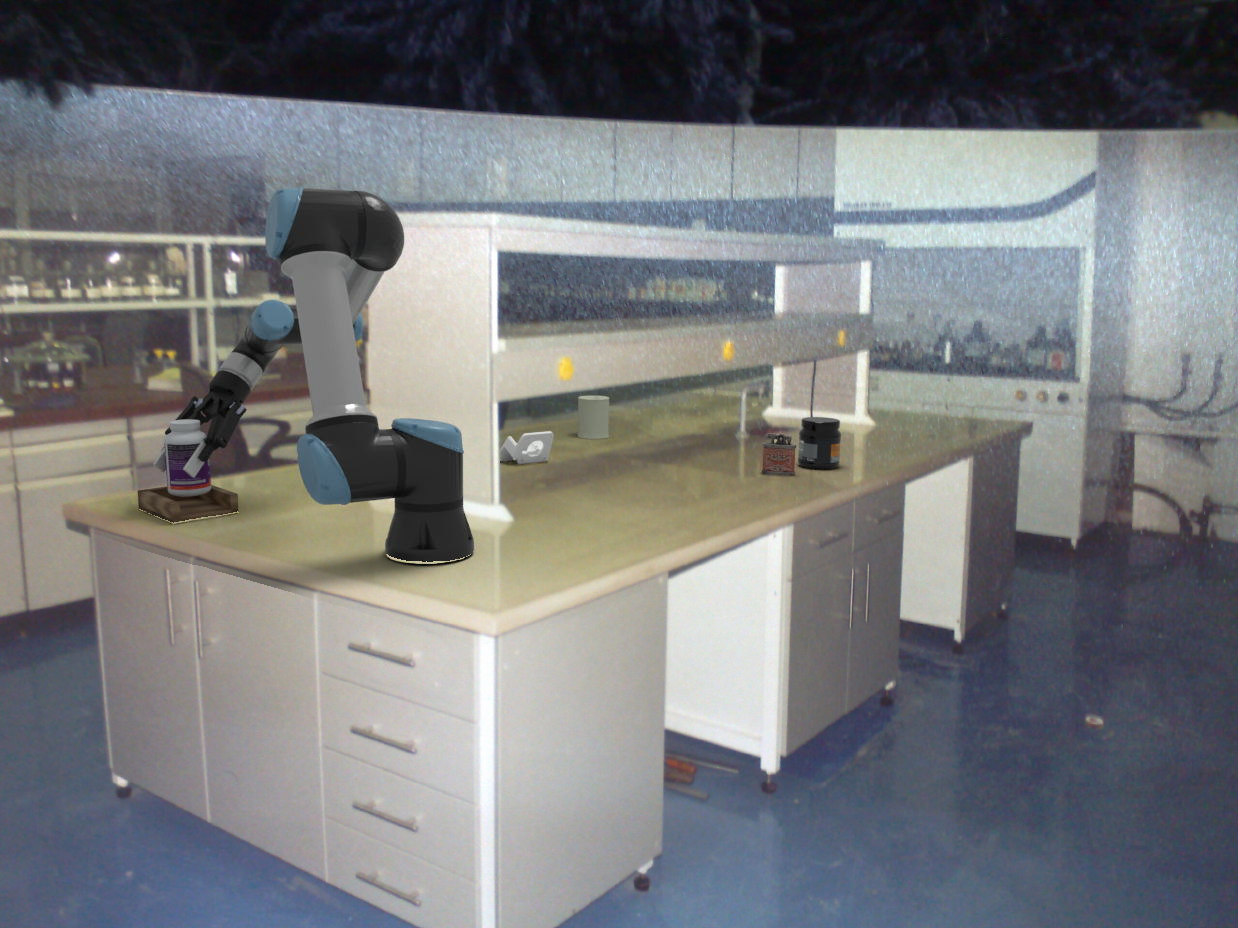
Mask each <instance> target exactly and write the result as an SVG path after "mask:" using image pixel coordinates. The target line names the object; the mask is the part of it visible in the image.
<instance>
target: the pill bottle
mask: <svg viewBox="0 0 1238 928" xmlns="http://www.w3.org/2000/svg"><path fill="white" fill-rule="evenodd" d="M169 426H170V430H172V431H171V433H169V434H167V435H166V434H165V436H164V438H163V445H164V446H163V448H164V449H165V461H166V471H165V473H166V475H165V476H166V486H167V489H168V492H169V493H170V494H171V495H174V496H182V497H189V496H197V495H202V494H205V493H208V492H209V491H210V490H211V485H212V476H211V463H210V462H211V461H210V458H209V459H208V460H207V461H206V462H205V463H204V464H203V466H202V467H201V469H200V470H199V472H198V473H197V475H196V476H195V478H193V477H191V476H190V475H189V474H188V473H186V472H185V471H184V470H183V468H184V467H185V465H186V464H187V462H188V461H189V459H190V458H191V456H192V455H193V453H194V452H195V450H196V449H197V448H198V446H199V445H200V443H201V442H204V443H205V444H207V443H206V442H205V441H204V440H203V439H204V438H207V435H208V434H206V433H205V432H203V431H201V430H200V429H201V426H200V421H199V420H192V419H186V420H176V419H174V420H171V421H169Z"/></svg>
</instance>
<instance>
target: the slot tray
mask: <svg viewBox="0 0 1238 928" xmlns="http://www.w3.org/2000/svg"><path fill="white" fill-rule="evenodd" d="M137 502H138V510H139V509H141V510H143V511H146V512H147V513H150V514H152V515H155V516H158V517H160V518H162V519H165V520H168V521H170V522H173V523H174V522H179V521H185V520H189V519H196V518H201V517H208V516H216V515H223V514H228V513H233V512H237V511H238V512H239V513H240V510H239V495H238V493H236V492H234V491H231V490H227V489H224V488H221V487H219V486H216V485H213V484H211V490H210V491H209V492H208V493H205V494H202V495H197V496H189V497H182V496H174V495H171V494H170V493H169V492H168V489H167V485H166V486H161V487H158V486H157V487H153V488H146V489H137ZM147 513H146V514H147ZM152 515H151V516H152Z"/></svg>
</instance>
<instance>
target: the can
mask: <svg viewBox="0 0 1238 928" xmlns="http://www.w3.org/2000/svg"><path fill="white" fill-rule="evenodd" d="M577 403H578V404H577V405H578V407H577V409H578V413H577V414H578V415H577V417H578V418H577V423H578V424H577V425H578V426H577V430H578V431H577V438H580V439H583V440H604V439H609V438H610V434H609V433H610V432H609V430H610V428H609V426H610V425H609V422H610V421H609V420H610V414H609V413H610V396H605V395H581V396H578V397H577Z"/></svg>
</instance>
